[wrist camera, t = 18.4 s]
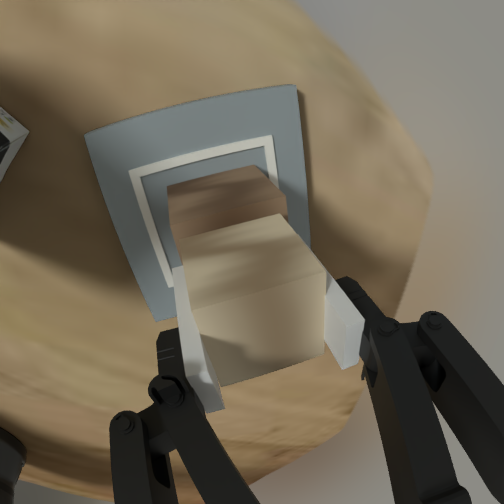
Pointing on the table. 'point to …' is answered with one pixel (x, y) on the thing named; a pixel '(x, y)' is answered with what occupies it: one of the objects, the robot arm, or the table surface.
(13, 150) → the tea box
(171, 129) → the board
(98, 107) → the table surface
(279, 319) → the oak cube
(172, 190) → the walnut cube
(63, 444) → the table surface
